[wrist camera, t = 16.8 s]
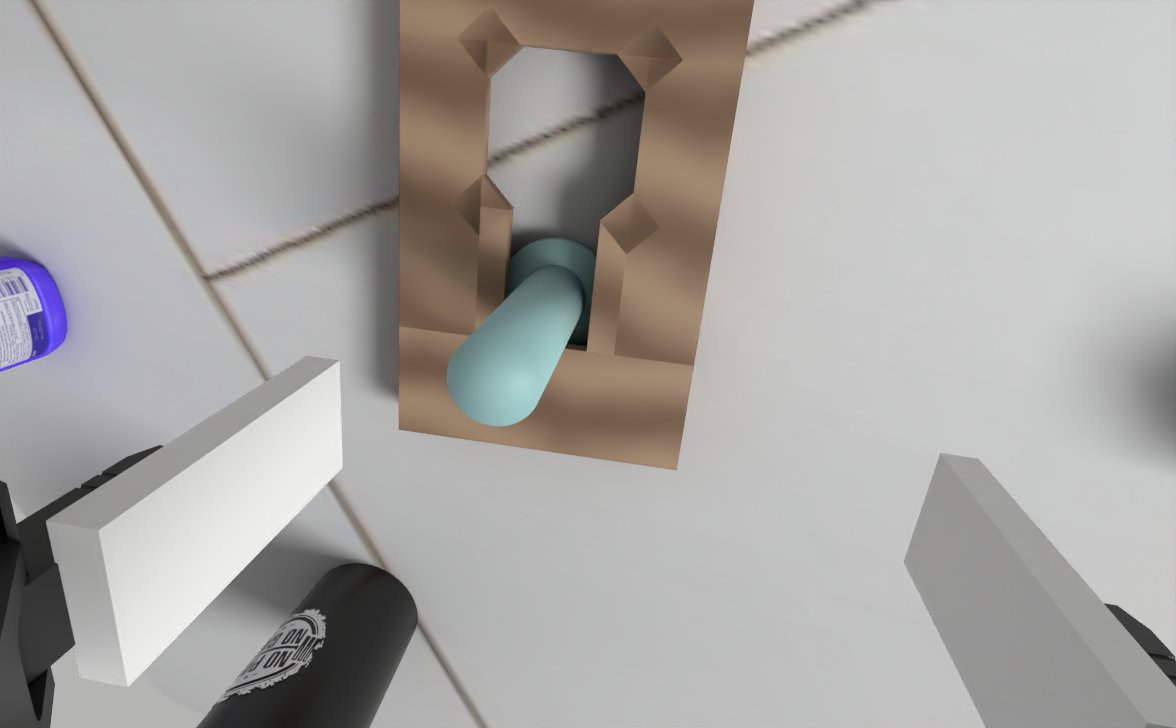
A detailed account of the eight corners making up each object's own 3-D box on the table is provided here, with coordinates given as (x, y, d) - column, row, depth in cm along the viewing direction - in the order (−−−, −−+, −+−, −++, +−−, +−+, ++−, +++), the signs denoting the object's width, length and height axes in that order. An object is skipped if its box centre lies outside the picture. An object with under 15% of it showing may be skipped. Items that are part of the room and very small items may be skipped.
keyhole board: (423, -55, 37) (399, -72, 33) (753, -26, 35) (760, -41, 32) (417, 408, 46) (398, 429, 43) (676, 445, 45) (676, 470, 42)
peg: (506, 230, 41) (412, 288, 26) (617, 244, 41) (586, 310, 26) (500, 337, 44) (410, 445, 29) (605, 351, 43) (570, 469, 28)
